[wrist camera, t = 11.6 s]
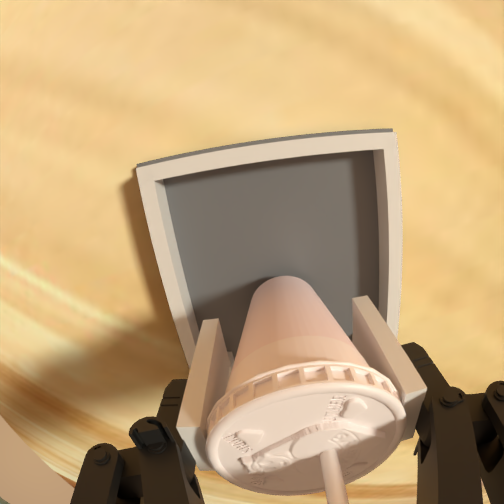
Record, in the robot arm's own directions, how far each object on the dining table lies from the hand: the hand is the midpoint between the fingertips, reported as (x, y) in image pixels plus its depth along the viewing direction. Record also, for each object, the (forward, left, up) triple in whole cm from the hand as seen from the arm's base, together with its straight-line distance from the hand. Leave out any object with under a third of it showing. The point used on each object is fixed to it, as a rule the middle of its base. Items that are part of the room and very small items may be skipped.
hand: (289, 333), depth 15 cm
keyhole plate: (0, -4, -4) cm, 6 cm away
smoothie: (0, 0, -3) cm, 3 cm away
